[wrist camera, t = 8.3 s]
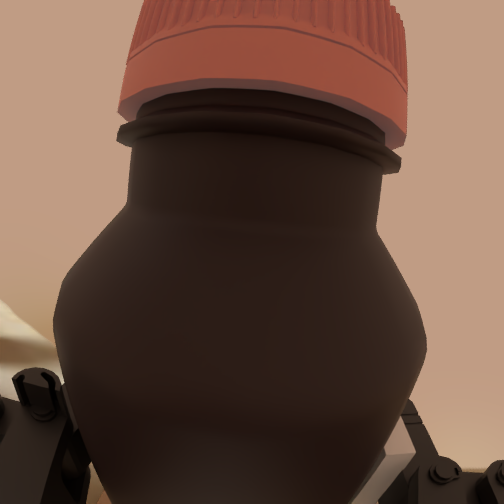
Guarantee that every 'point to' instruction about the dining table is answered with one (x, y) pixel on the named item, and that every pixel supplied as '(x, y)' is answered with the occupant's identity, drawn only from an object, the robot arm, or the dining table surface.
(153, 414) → the vinegar
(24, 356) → the dining table surface
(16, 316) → the dining table surface
